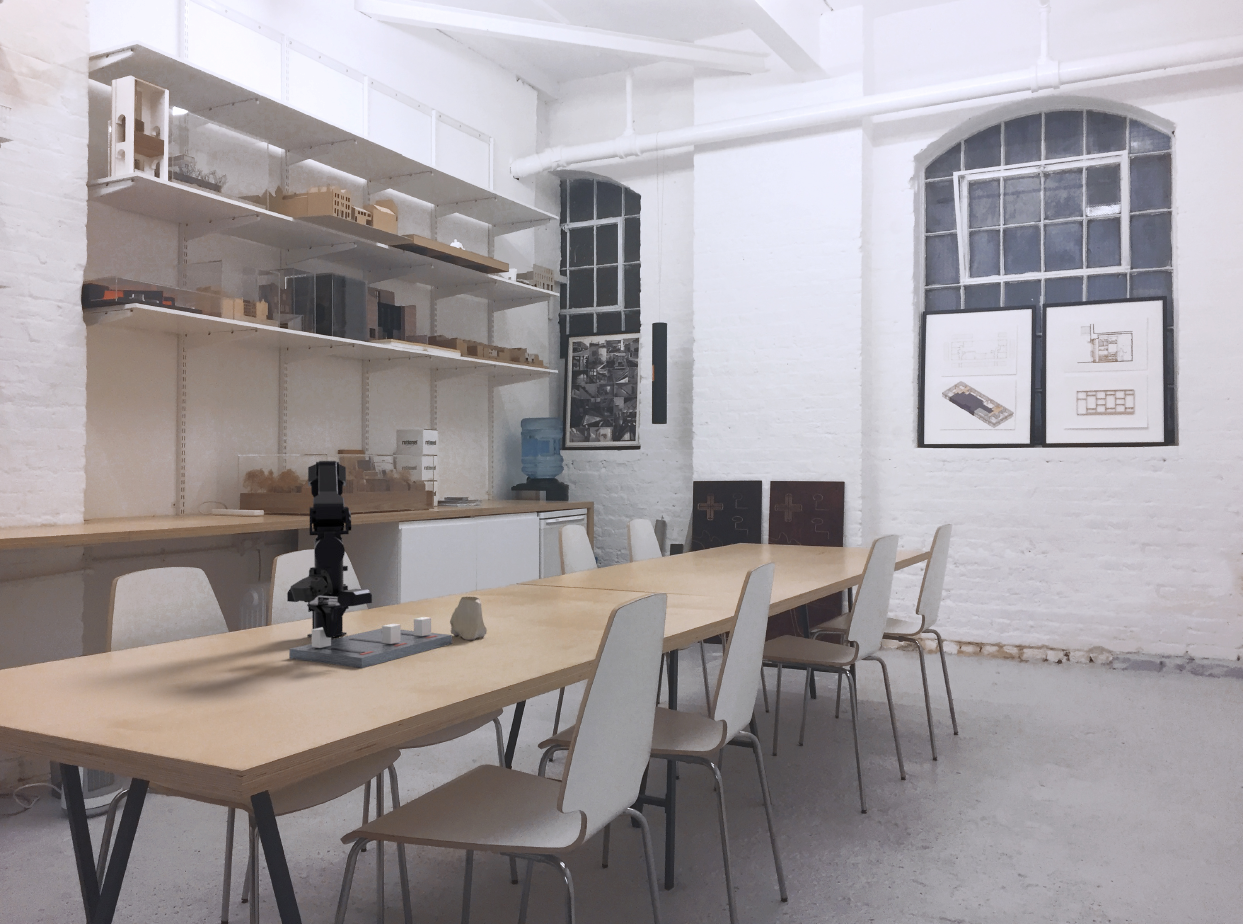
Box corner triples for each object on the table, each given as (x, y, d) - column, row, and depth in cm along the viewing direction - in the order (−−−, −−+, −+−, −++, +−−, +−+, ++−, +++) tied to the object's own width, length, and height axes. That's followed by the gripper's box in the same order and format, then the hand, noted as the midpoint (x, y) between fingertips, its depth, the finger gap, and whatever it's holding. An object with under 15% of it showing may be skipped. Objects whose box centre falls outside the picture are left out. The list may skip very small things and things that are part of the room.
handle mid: (382, 642, 196) (382, 625, 196) (391, 640, 199) (391, 623, 199) (390, 643, 195) (390, 626, 195) (400, 641, 198) (400, 624, 198)
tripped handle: (311, 646, 192) (311, 629, 192) (322, 644, 195) (322, 627, 195) (320, 647, 191) (320, 630, 191) (330, 645, 194) (330, 628, 194)
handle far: (413, 635, 205) (413, 618, 205) (422, 632, 208) (422, 616, 208) (422, 636, 204) (422, 619, 204) (431, 633, 206) (431, 617, 206)
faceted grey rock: (486, 646, 215) (498, 604, 218) (470, 639, 208) (484, 597, 211) (453, 638, 218) (466, 598, 221) (437, 632, 212) (451, 590, 215)
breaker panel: (289, 658, 192) (289, 648, 192) (383, 636, 216) (383, 627, 216) (361, 668, 182) (361, 657, 182) (451, 643, 207) (451, 634, 207)
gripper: (265, 563, 189) (266, 640, 189) (332, 567, 180) (333, 647, 180) (307, 559, 199) (308, 631, 199) (373, 562, 190) (374, 638, 190)
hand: (329, 637), depth 192 cm, fingers closed
